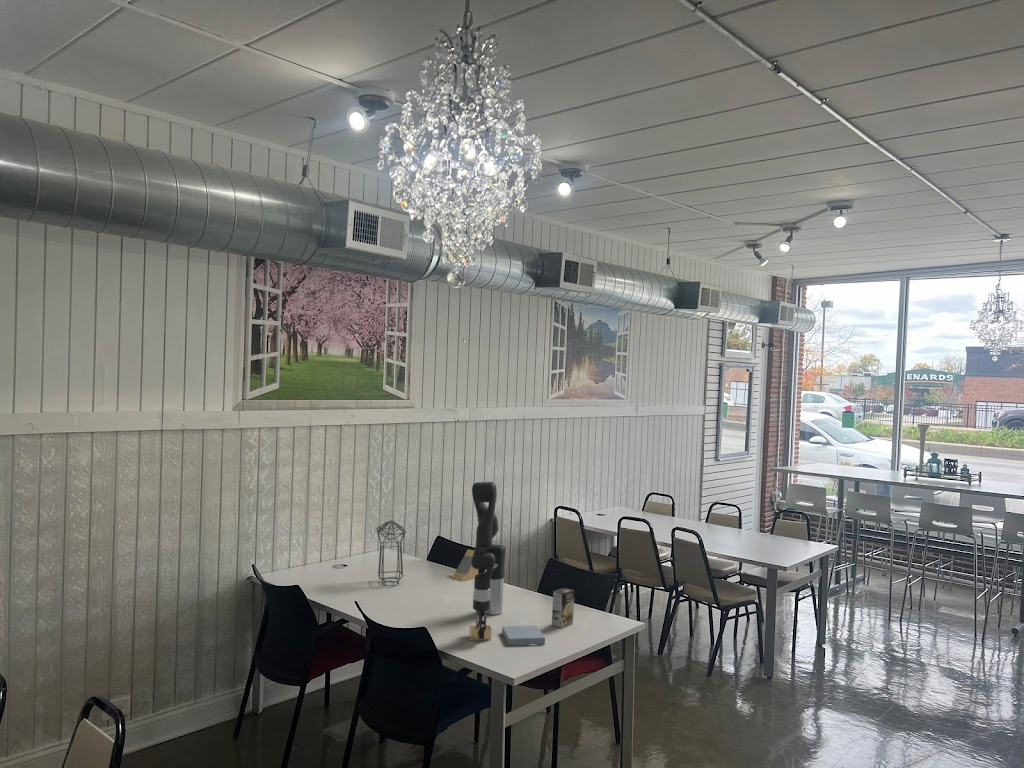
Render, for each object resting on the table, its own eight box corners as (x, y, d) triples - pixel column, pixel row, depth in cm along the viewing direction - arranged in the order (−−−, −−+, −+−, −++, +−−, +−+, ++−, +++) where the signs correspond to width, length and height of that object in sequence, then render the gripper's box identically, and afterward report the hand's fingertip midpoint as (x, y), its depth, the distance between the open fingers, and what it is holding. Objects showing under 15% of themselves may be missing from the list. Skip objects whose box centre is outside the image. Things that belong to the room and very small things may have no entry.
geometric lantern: (405, 587, 401) (407, 522, 401) (376, 588, 397) (377, 523, 397) (402, 578, 417) (404, 517, 416) (374, 580, 413) (375, 517, 412)
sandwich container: (450, 579, 421) (451, 553, 421) (466, 574, 433) (467, 548, 433) (462, 582, 416) (463, 555, 416) (478, 577, 429) (479, 551, 429)
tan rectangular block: (469, 636, 328) (469, 625, 328) (488, 636, 330) (489, 625, 330) (470, 640, 323) (471, 629, 323) (490, 640, 325) (491, 629, 325)
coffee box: (562, 628, 345) (563, 593, 345) (551, 624, 349) (552, 590, 349) (573, 623, 352) (574, 590, 352) (562, 620, 356) (563, 587, 356)
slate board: (502, 632, 334) (502, 626, 334) (536, 632, 338) (536, 625, 338) (508, 645, 319) (509, 638, 319) (544, 644, 322) (545, 637, 322)
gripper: (471, 593, 333) (469, 630, 333) (475, 603, 319) (473, 641, 319) (487, 593, 334) (485, 629, 334) (492, 602, 320) (491, 640, 320)
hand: (480, 635), depth 326 cm, fingers open, 7 cm apart
